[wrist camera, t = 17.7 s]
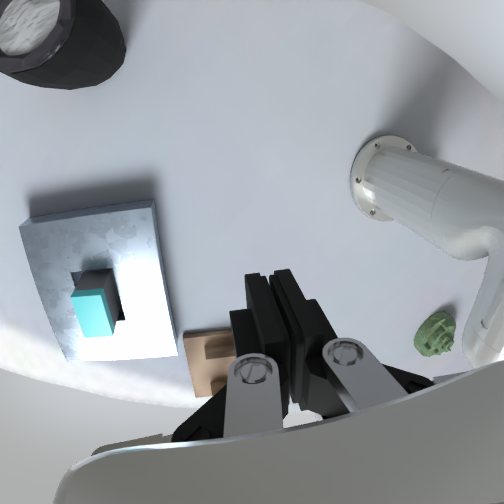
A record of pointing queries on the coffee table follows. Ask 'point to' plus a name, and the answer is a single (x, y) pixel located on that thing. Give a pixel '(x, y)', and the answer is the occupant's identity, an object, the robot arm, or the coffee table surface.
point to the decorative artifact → (435, 334)
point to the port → (102, 257)
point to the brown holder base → (209, 360)
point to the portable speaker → (59, 42)
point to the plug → (97, 303)
